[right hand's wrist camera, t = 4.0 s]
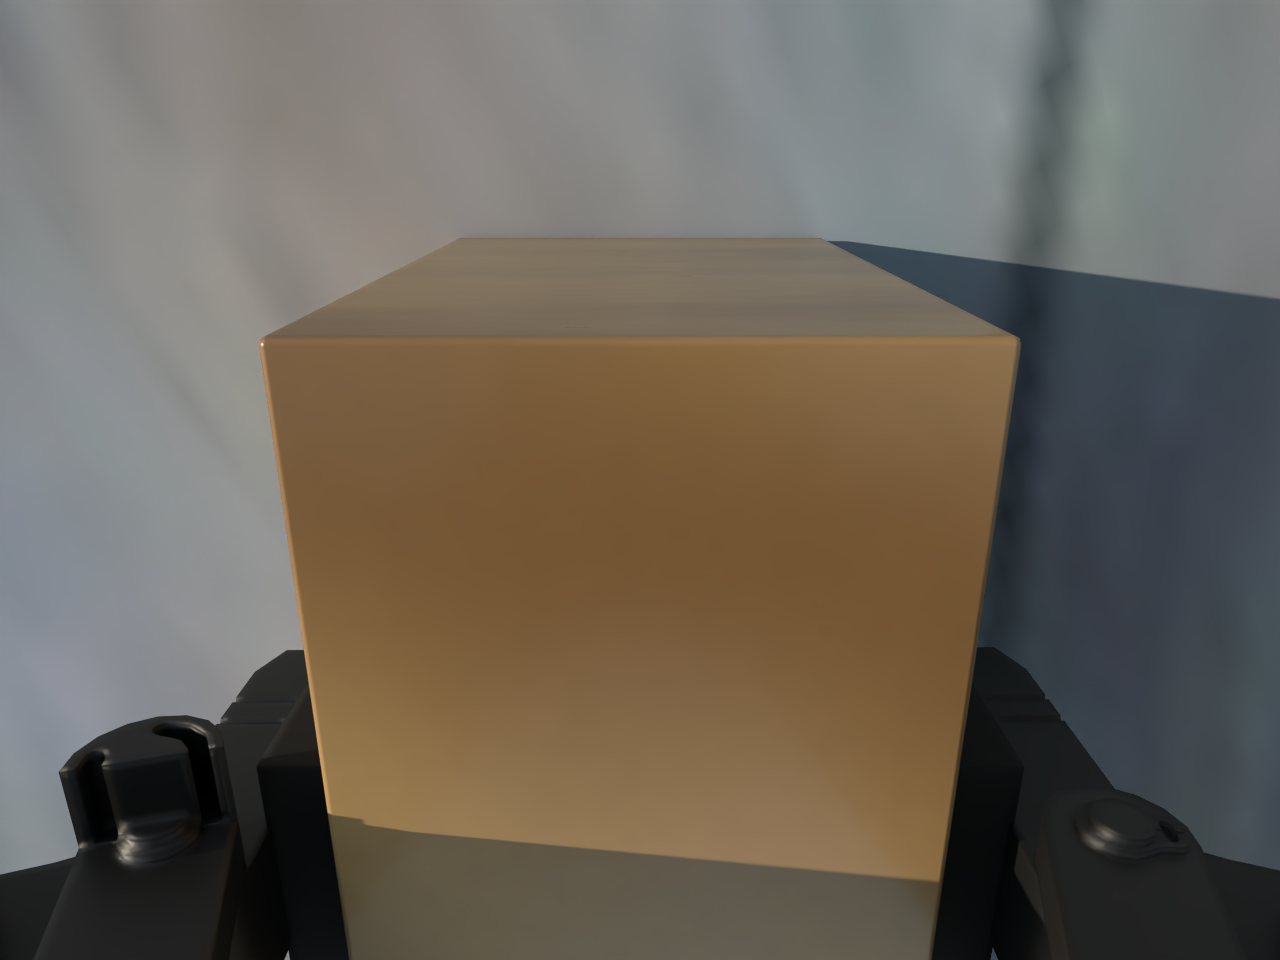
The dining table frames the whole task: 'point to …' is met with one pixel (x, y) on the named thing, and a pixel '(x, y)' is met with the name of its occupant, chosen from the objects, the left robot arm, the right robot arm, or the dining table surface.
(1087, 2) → the dining table surface
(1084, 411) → the dining table surface
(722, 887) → the bar
